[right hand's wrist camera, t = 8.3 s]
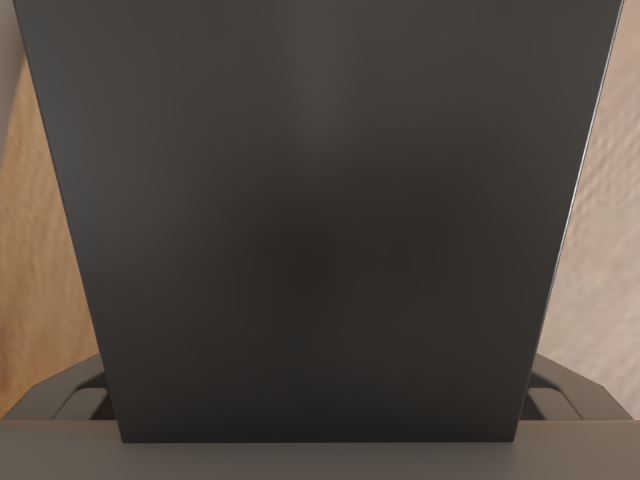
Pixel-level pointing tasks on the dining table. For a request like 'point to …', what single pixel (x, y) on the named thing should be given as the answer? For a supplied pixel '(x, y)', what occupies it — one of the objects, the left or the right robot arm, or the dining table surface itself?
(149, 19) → the bar
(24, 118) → the dining table surface
